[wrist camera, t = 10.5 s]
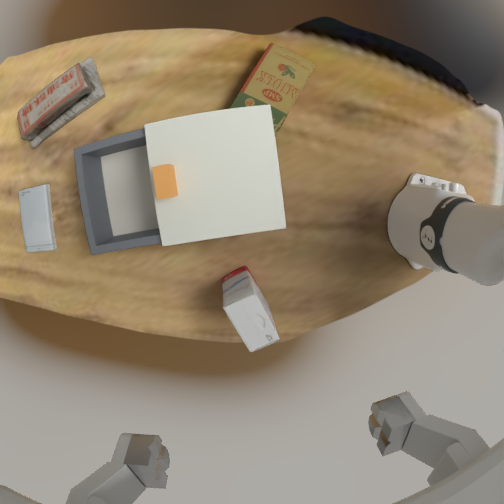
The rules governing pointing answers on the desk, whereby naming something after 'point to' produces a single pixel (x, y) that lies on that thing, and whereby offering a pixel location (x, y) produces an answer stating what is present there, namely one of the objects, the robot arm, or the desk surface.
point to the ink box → (248, 310)
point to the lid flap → (215, 174)
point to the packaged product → (60, 102)
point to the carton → (275, 83)
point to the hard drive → (37, 219)
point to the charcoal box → (117, 193)
